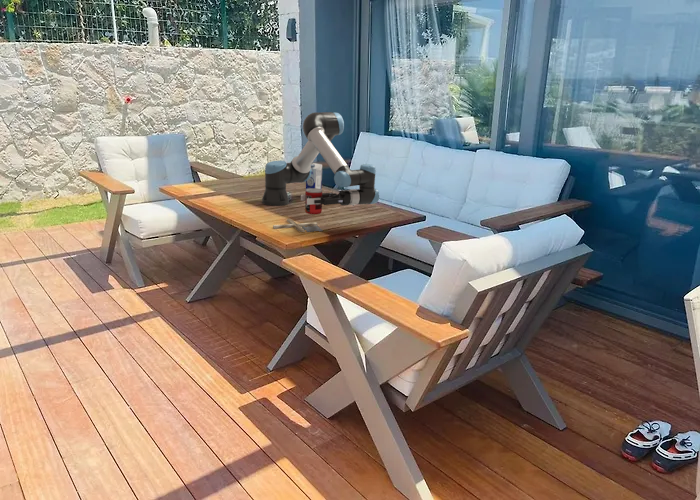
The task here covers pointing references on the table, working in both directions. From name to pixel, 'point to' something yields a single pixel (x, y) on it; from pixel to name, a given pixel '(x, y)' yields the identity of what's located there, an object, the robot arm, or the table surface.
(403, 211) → the table surface
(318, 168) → the milk carton
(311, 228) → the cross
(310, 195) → the canned food
